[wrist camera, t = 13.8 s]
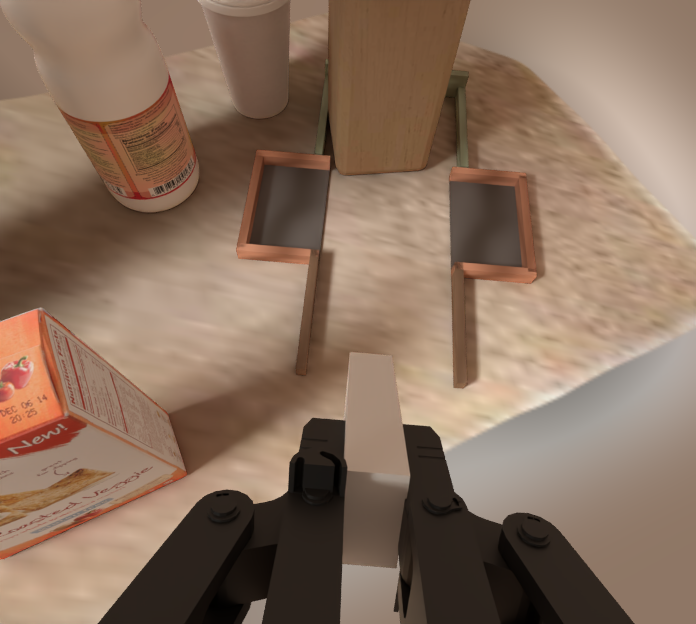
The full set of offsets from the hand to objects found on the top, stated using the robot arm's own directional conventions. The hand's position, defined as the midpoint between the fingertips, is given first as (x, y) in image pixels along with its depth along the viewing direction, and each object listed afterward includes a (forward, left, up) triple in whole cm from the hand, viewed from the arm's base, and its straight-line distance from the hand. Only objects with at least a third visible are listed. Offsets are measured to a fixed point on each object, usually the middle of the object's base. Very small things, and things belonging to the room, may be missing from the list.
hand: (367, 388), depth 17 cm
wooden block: (+1, +36, -24) cm, 43 cm away
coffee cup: (-13, +41, -24) cm, 49 cm away
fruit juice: (-22, +28, -24) cm, 43 cm away
